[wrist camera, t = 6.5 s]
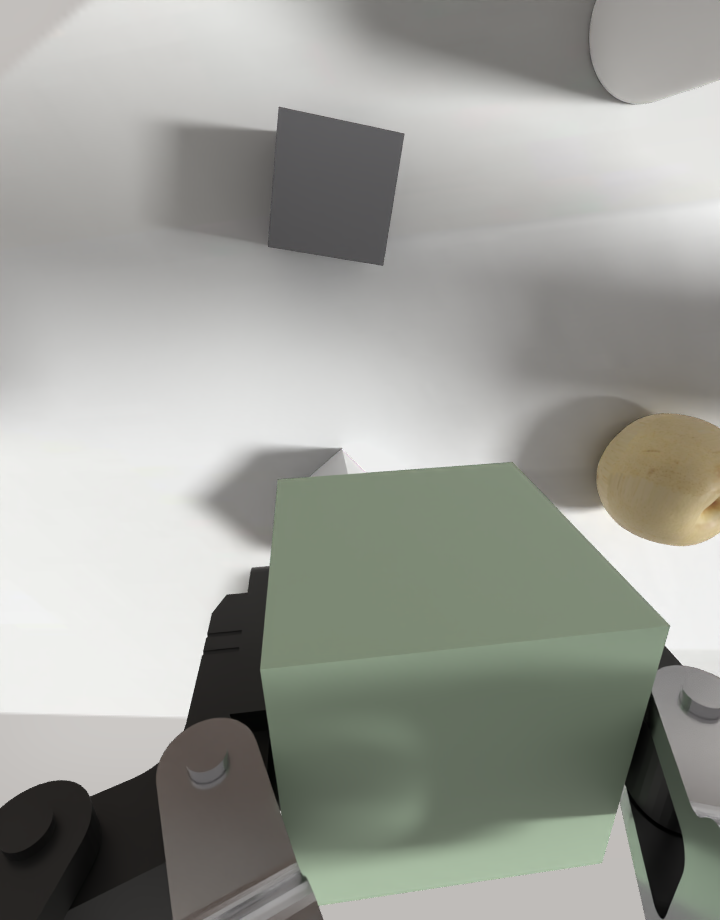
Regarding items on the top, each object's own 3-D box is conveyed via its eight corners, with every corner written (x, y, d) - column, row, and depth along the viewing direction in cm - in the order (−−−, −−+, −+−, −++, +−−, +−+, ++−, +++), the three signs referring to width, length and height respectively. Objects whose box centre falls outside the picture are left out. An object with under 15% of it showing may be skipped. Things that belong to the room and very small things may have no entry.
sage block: (512, 462, 11) (669, 625, 6) (493, 640, 13) (601, 863, 8) (277, 479, 10) (259, 669, 6) (297, 661, 12) (295, 908, 8)
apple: (602, 389, 31) (754, 409, 25) (647, 425, 36) (781, 448, 30) (559, 509, 31) (699, 556, 25) (609, 527, 36) (735, 570, 30)
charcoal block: (383, 153, 25) (404, 133, 20) (367, 261, 26) (383, 265, 22) (281, 132, 24) (278, 106, 19) (272, 245, 26) (267, 246, 21)
